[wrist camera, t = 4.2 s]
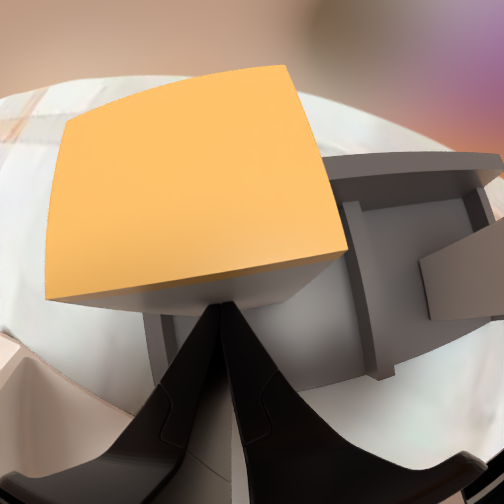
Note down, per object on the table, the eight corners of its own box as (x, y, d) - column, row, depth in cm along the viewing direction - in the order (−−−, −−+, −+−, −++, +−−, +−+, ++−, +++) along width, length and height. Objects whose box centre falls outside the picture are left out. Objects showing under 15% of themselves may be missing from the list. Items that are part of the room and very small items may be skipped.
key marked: (285, 302, 15) (347, 249, 4) (196, 316, 15) (45, 299, 4) (272, 233, 16) (284, 64, 5) (187, 248, 16) (66, 121, 5)
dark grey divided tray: (490, 317, 15) (549, 310, 9) (177, 402, 15) (133, 440, 9) (457, 188, 18) (503, 150, 11) (154, 235, 18) (105, 192, 11)
